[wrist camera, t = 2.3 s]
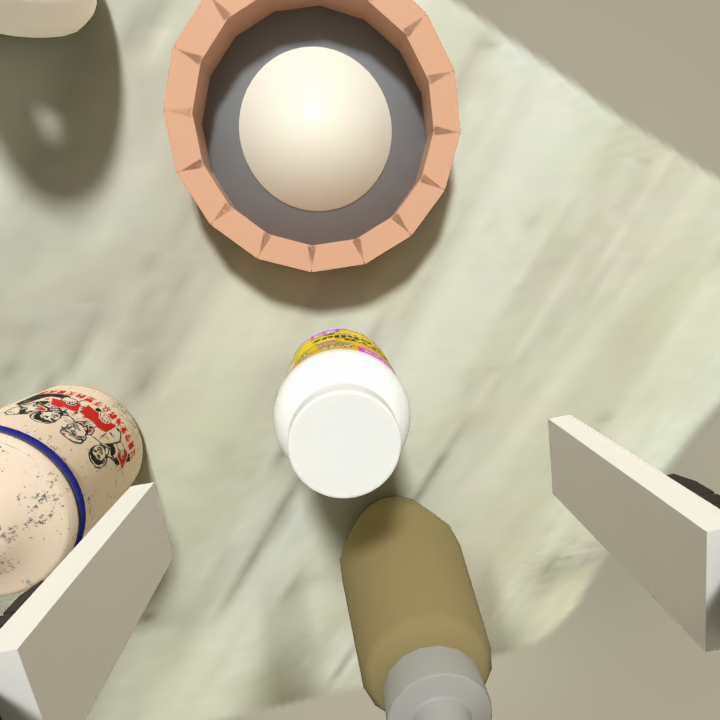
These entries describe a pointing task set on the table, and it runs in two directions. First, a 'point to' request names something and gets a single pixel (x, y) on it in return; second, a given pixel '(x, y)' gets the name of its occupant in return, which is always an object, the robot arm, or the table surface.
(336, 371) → the supplement bottle
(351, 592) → the squeeze bottle
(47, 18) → the white decorative knot
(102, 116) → the table surface
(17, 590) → the teacup with lid
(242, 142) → the saucer tray
